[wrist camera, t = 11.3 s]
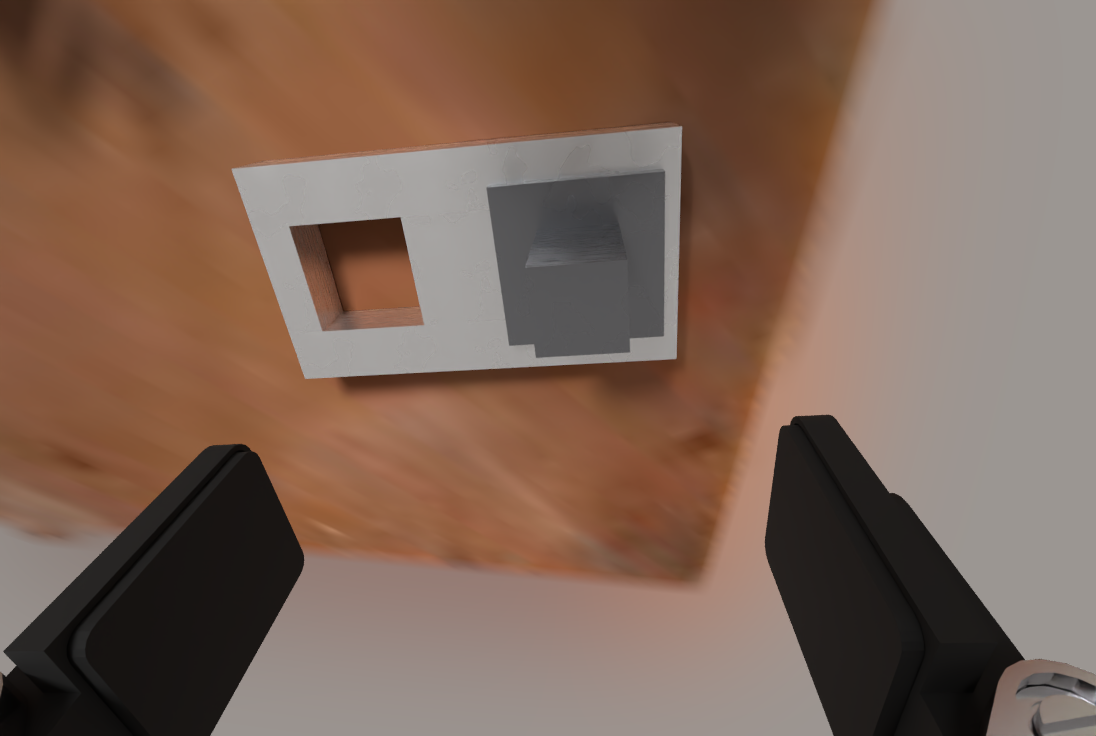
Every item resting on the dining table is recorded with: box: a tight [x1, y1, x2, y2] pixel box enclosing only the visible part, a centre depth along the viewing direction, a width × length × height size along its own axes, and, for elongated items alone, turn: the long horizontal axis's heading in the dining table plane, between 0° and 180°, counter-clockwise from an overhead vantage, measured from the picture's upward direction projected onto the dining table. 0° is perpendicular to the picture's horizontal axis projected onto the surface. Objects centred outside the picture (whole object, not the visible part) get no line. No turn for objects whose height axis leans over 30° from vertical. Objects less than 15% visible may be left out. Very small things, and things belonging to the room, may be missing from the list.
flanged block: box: [486, 169, 665, 358], centre depth 26 cm, size 8×8×9 cm
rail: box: [232, 122, 682, 379], centre depth 30 cm, size 12×22×3 cm, turn 95°
